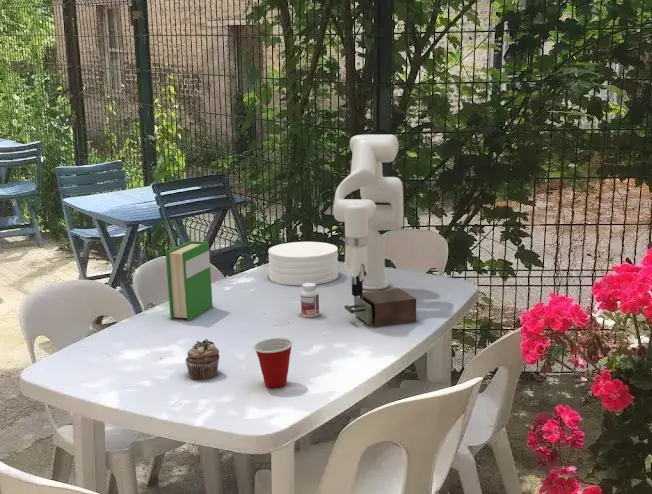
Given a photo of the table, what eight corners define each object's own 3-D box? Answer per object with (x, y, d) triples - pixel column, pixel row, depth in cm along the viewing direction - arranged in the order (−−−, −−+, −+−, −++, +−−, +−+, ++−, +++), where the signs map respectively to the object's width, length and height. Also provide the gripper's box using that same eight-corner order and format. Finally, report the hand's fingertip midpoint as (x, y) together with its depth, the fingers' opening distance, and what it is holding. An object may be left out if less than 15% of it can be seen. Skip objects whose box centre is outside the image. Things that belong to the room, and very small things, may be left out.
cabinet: (375, 327, 282) (375, 303, 280) (359, 315, 295) (359, 292, 293) (416, 322, 286) (416, 298, 284) (398, 310, 299) (398, 288, 297)
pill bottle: (311, 311, 301) (310, 281, 298) (322, 315, 297) (322, 284, 294) (297, 315, 298) (296, 284, 295) (309, 318, 293) (308, 287, 290)
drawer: (354, 326, 280) (354, 308, 279) (340, 315, 293) (340, 297, 291) (406, 320, 285) (406, 301, 284) (390, 309, 298) (390, 291, 296)
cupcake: (206, 366, 251) (204, 333, 248) (227, 374, 244) (225, 340, 242) (179, 375, 245) (177, 341, 242) (200, 383, 238) (198, 349, 235)
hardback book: (189, 320, 295) (184, 252, 288) (170, 319, 297) (165, 251, 291) (212, 306, 311) (208, 242, 304) (194, 305, 313) (190, 241, 307)
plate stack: (258, 282, 342) (256, 254, 339) (285, 266, 367) (284, 240, 364) (323, 287, 331) (323, 258, 328) (347, 270, 356) (347, 243, 353)
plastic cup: (254, 378, 240) (252, 337, 237) (292, 376, 241) (291, 335, 238) (255, 393, 230) (253, 350, 227) (295, 390, 231) (294, 348, 227)
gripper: (338, 238, 286) (339, 291, 291) (353, 246, 272) (354, 302, 277) (359, 236, 288) (359, 288, 293) (375, 244, 274) (376, 299, 279)
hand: (357, 295), depth 285 cm, fingers closed
